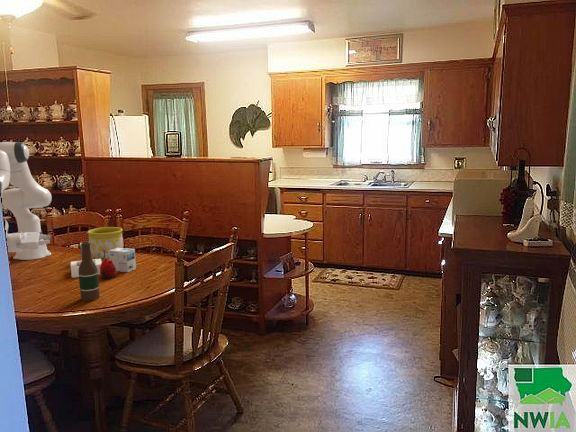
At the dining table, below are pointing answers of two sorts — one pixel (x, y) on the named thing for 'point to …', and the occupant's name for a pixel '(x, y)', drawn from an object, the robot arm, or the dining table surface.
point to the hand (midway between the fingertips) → (50, 238)
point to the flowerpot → (104, 241)
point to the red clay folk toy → (107, 268)
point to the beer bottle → (88, 275)
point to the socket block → (76, 265)
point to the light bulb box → (123, 259)
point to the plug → (81, 250)
